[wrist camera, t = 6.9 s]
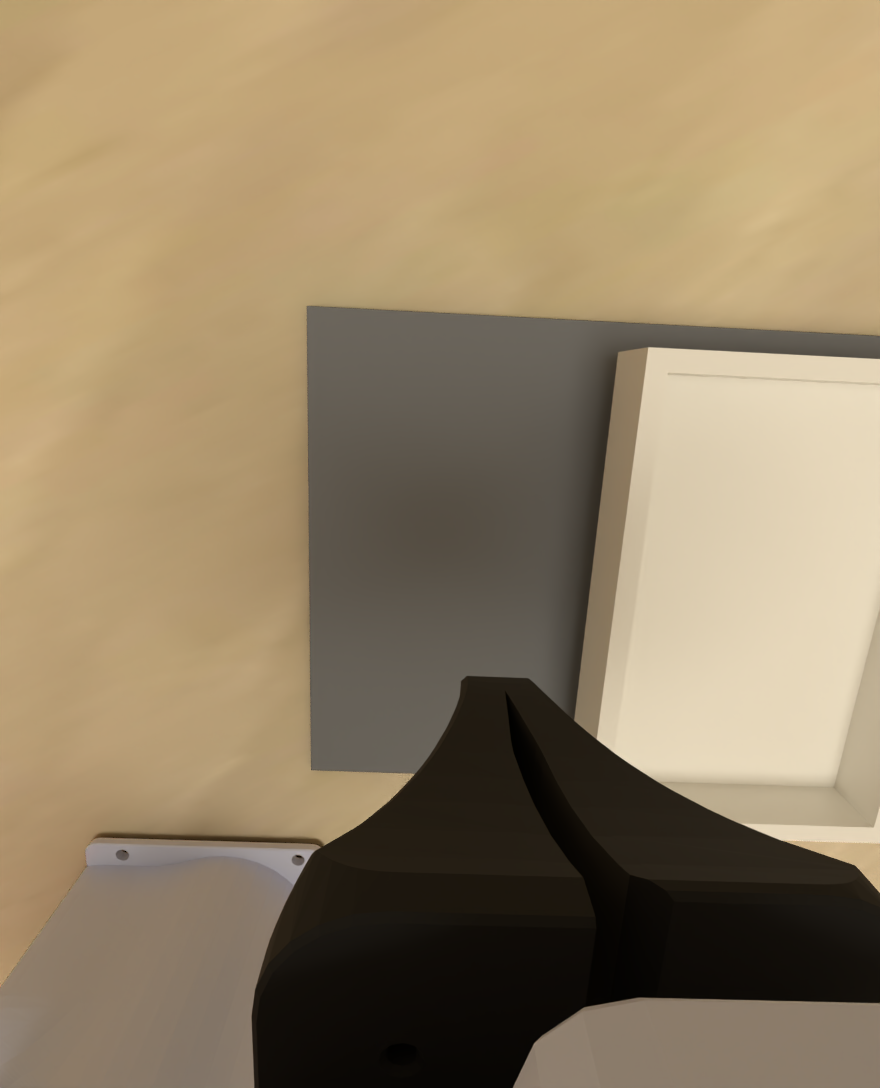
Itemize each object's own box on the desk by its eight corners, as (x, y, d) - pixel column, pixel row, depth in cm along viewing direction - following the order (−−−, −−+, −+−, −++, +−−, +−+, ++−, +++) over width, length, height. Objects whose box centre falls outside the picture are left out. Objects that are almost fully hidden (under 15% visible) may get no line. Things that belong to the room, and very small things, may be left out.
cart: (558, 759, 23) (584, 834, 19) (605, 354, 19) (648, 347, 15) (812, 767, 24) (887, 843, 20) (908, 369, 20) (1025, 366, 16)
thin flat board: (312, 765, 24) (304, 792, 22) (308, 307, 19) (297, 300, 18) (872, 783, 24) (902, 810, 23) (993, 343, 20) (1040, 339, 18)
